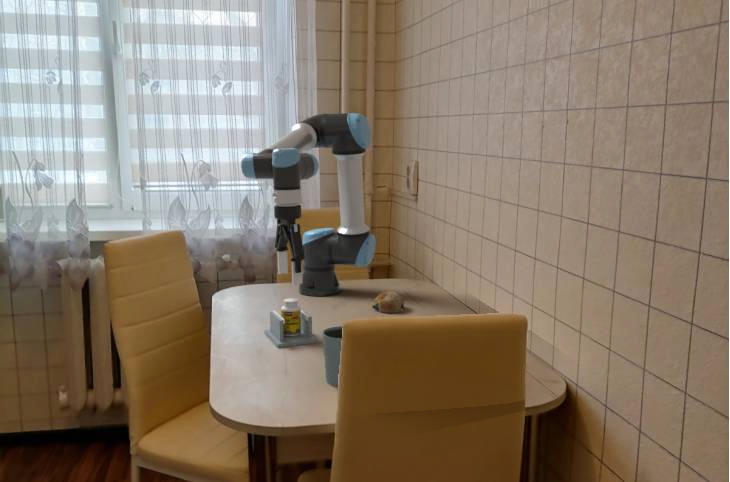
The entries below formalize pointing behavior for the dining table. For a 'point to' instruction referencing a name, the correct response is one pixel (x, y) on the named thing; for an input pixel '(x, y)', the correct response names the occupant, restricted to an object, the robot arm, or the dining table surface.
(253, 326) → the dining table surface
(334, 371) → the grey-green cup
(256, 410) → the dining table surface
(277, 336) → the clip cradle
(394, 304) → the brown domed lump
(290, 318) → the supplement bottle
